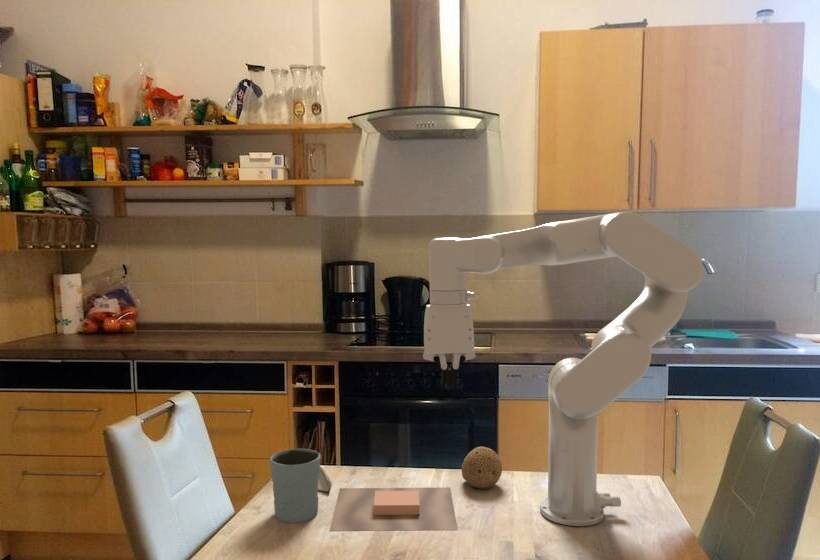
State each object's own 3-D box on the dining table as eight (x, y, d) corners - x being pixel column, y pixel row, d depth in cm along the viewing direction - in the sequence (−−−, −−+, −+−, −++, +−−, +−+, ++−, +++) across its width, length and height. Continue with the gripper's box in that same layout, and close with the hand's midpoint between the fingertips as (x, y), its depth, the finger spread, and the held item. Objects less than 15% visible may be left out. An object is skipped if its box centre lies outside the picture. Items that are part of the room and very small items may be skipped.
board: (450, 494, 140) (450, 487, 140) (457, 537, 120) (457, 529, 120) (340, 494, 139) (339, 488, 139) (329, 538, 119) (329, 530, 119)
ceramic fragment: (335, 496, 140) (335, 479, 140) (312, 499, 138) (312, 482, 138) (320, 475, 153) (320, 459, 152) (299, 478, 151) (298, 462, 151)
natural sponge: (502, 501, 136) (502, 455, 135) (460, 499, 137) (460, 454, 136) (501, 484, 145) (501, 441, 144) (461, 483, 146) (461, 440, 145)
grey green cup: (278, 528, 124) (277, 468, 123) (265, 509, 133) (264, 452, 132) (328, 518, 128) (327, 459, 127) (312, 499, 137) (311, 444, 136)
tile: (418, 490, 133) (375, 491, 133) (419, 505, 126) (373, 505, 126) (418, 500, 133) (375, 500, 133) (419, 514, 126) (373, 515, 126)
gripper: (482, 296, 134) (483, 382, 135) (411, 297, 134) (412, 384, 135) (487, 299, 126) (488, 391, 128) (411, 301, 126) (413, 392, 127)
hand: (449, 387), depth 131 cm, fingers closed
